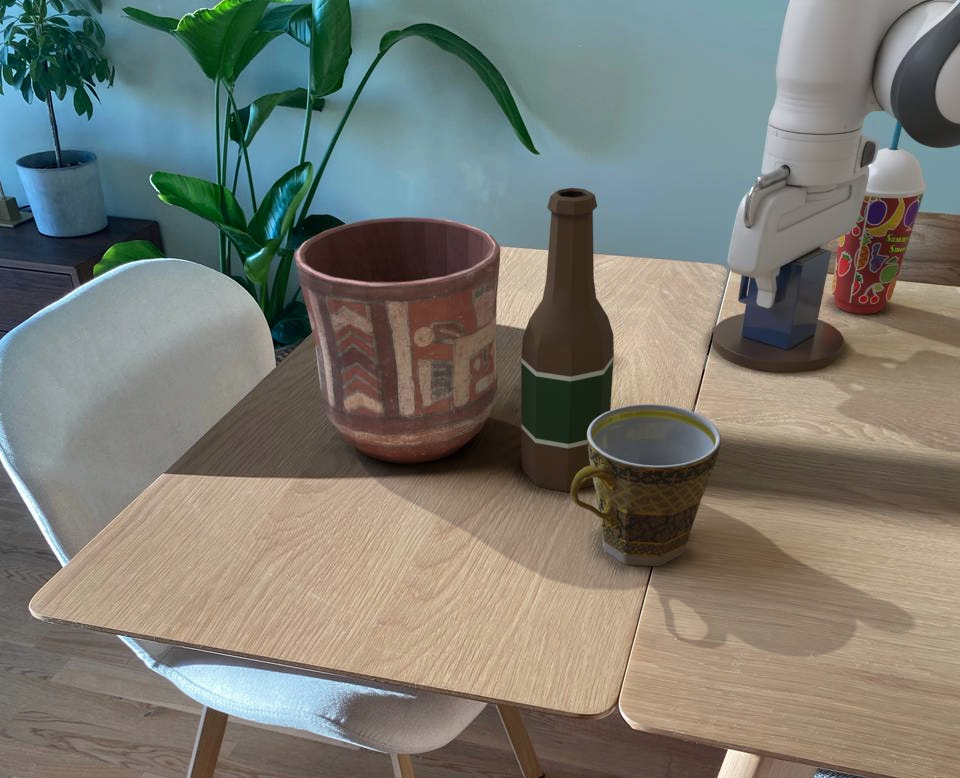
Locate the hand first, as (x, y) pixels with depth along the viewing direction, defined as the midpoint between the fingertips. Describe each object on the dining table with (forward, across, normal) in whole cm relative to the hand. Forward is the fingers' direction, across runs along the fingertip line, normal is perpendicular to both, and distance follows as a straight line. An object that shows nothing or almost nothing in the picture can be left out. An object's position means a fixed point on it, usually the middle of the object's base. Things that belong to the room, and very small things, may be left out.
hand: (785, 295), depth 105 cm
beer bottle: (+6, -36, 0) cm, 37 cm away
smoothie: (+6, +16, -1) cm, 17 cm away
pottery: (+6, -41, +15) cm, 44 cm away
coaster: (+6, 0, 0) cm, 6 cm away
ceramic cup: (+6, -42, -12) cm, 45 cm away
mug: (+4, 0, +1) cm, 5 cm away
